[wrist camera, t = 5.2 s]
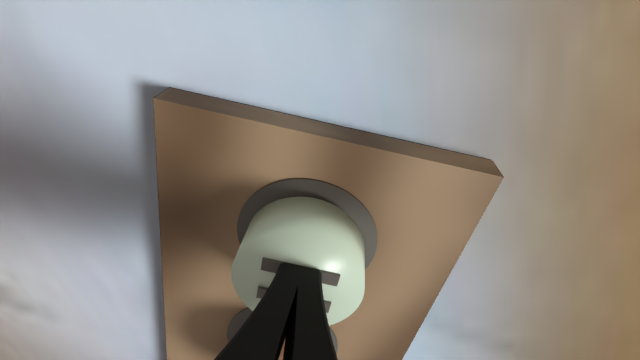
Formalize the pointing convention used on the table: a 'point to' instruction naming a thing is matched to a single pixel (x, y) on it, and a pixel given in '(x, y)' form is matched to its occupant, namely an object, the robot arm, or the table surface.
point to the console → (316, 182)
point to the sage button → (303, 252)
